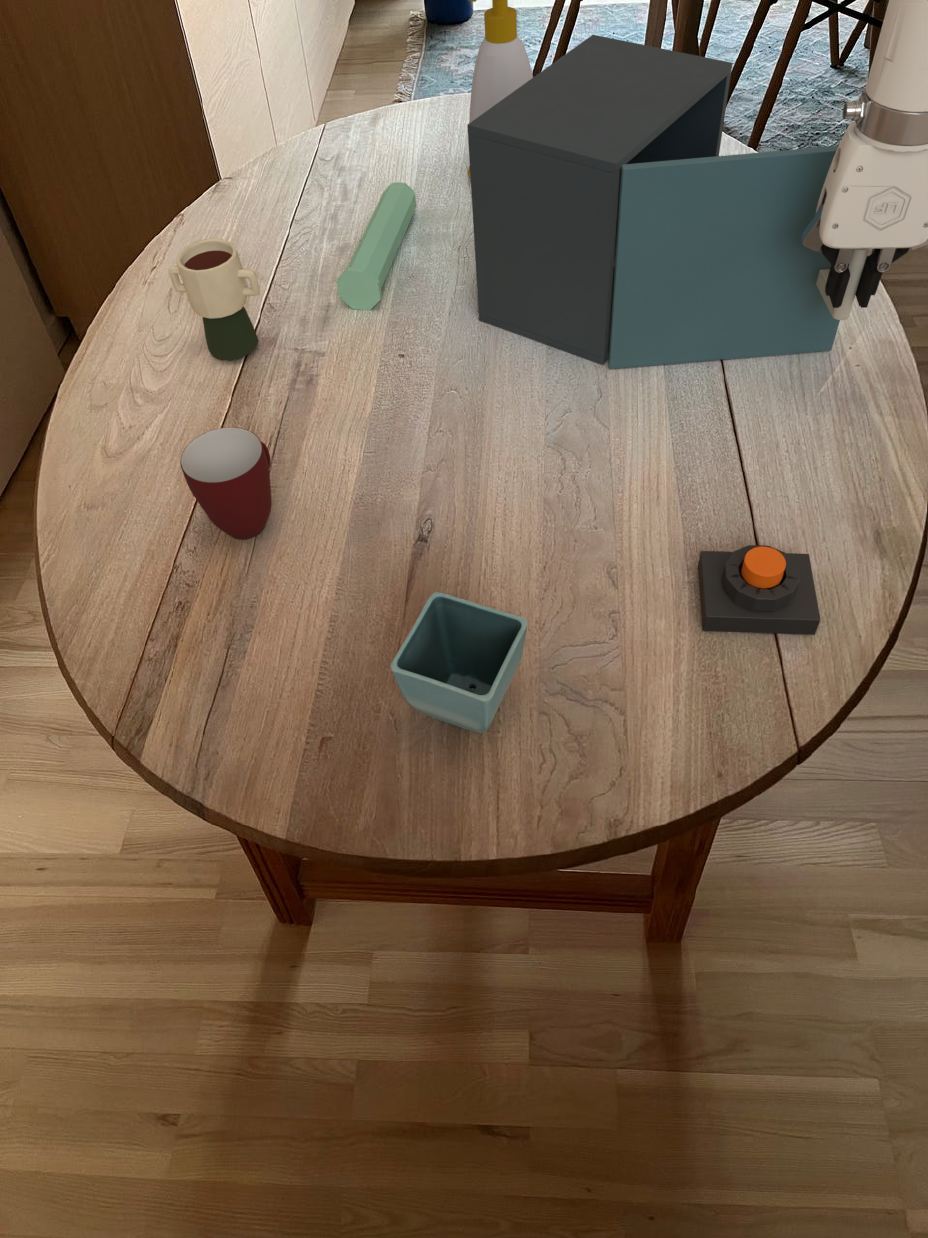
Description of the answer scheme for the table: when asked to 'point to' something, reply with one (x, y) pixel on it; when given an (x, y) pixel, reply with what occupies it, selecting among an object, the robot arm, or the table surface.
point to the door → (723, 260)
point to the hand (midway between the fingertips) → (847, 298)
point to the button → (763, 567)
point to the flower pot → (459, 660)
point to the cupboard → (578, 180)
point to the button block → (756, 596)
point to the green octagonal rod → (377, 248)
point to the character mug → (218, 295)
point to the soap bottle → (498, 60)
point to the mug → (230, 479)
